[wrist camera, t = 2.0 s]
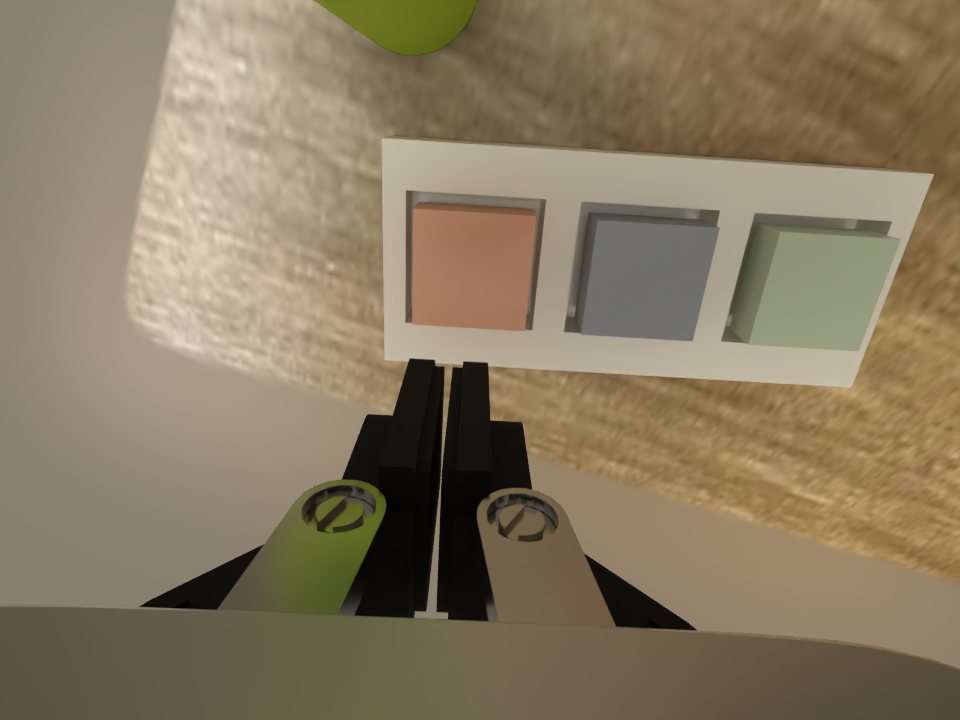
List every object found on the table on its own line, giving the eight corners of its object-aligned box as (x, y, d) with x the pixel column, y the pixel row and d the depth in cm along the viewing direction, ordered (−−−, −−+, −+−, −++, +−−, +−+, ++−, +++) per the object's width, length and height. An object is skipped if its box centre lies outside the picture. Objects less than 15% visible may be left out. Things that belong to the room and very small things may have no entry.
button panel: (884, 168, 25) (934, 174, 22) (817, 362, 29) (851, 387, 27) (393, 135, 25) (381, 137, 22) (394, 337, 29) (384, 360, 26)
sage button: (869, 230, 24) (900, 239, 22) (832, 334, 26) (858, 351, 24) (757, 223, 24) (780, 231, 22) (729, 328, 26) (747, 344, 24)
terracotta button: (532, 208, 24) (536, 216, 22) (522, 316, 26) (524, 331, 24) (418, 201, 24) (413, 208, 22) (417, 309, 26) (412, 324, 24)
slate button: (701, 219, 24) (719, 228, 22) (678, 325, 26) (692, 341, 24) (589, 212, 24) (597, 220, 22) (574, 319, 26) (581, 334, 24)
